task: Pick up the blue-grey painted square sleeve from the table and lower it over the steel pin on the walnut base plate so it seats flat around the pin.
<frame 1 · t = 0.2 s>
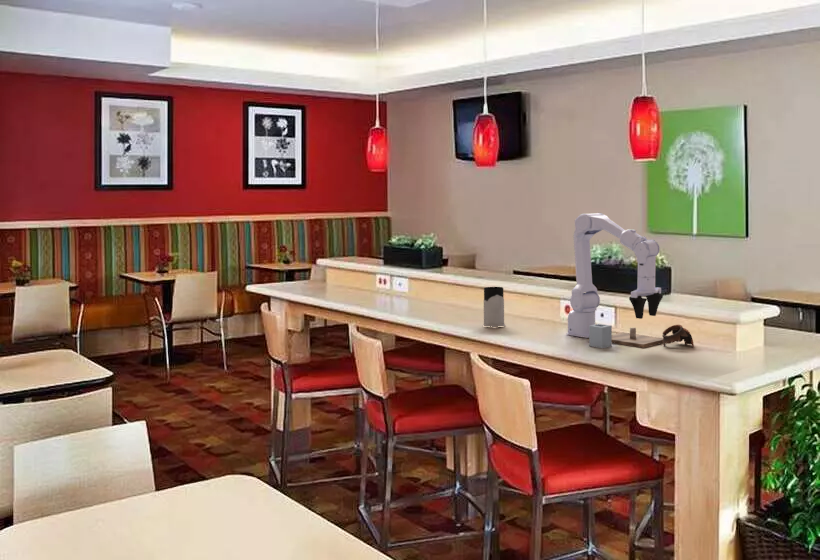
hand: (645, 317, 289), 10 cm above the table, fingers open, 7 cm apart
glass holder: (491, 325, 337), on the table
brown curved band: (678, 346, 289), on the table
sleeve: (600, 346, 291), on the table
pin plate: (632, 341, 298), on the table
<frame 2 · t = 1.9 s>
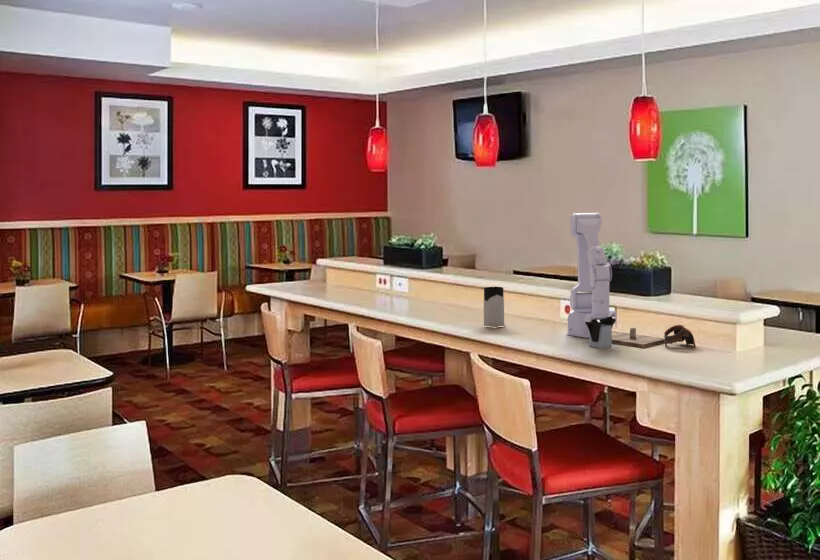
hand: (600, 340, 291), 2 cm above the table, fingers closed on sleeve, 5 cm apart
sleeve: (600, 346, 291), on the table, touching gripper
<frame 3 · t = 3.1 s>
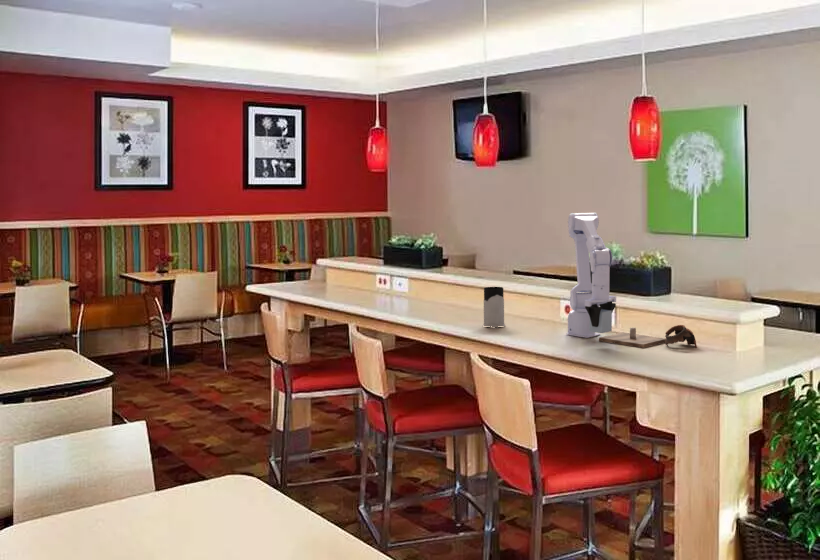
hand: (600, 325, 290), 7 cm above the table, fingers closed on sleeve, 5 cm apart
sleeve: (600, 331, 290), point 5 cm above the table, touching gripper
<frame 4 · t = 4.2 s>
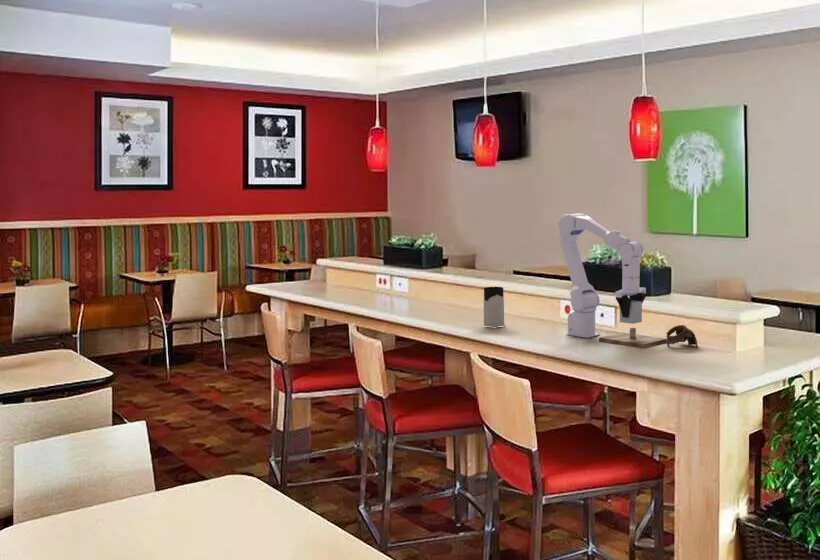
hand: (630, 316, 296), 9 cm above the table, fingers closed on sleeve, 5 cm apart
sleeve: (630, 321, 296), point 7 cm above the table, touching gripper
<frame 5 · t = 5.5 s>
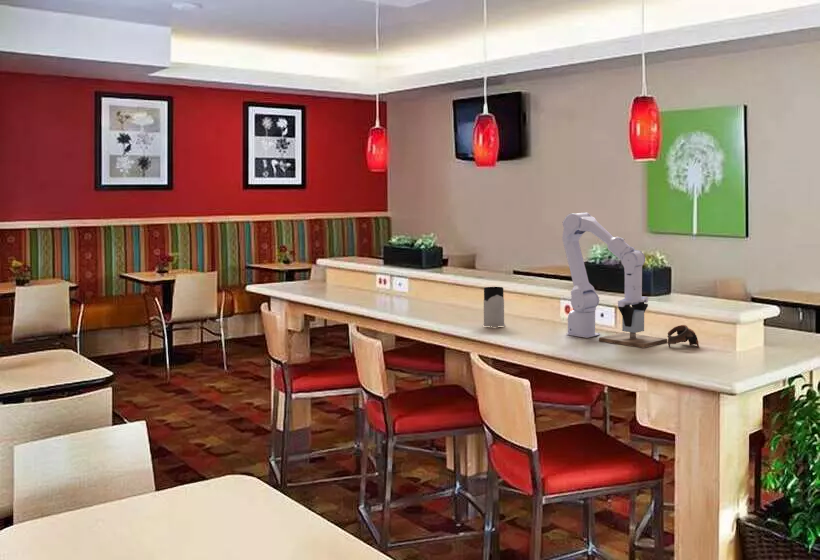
hand: (632, 325, 297), 6 cm above the table, fingers closed on sleeve, 5 cm apart
sleeve: (633, 331, 297), point 4 cm above the table, touching gripper
when the fingers open (4 cm above the table, at t = 6.4 s): sleeve stays where it is, resting on pin plate.
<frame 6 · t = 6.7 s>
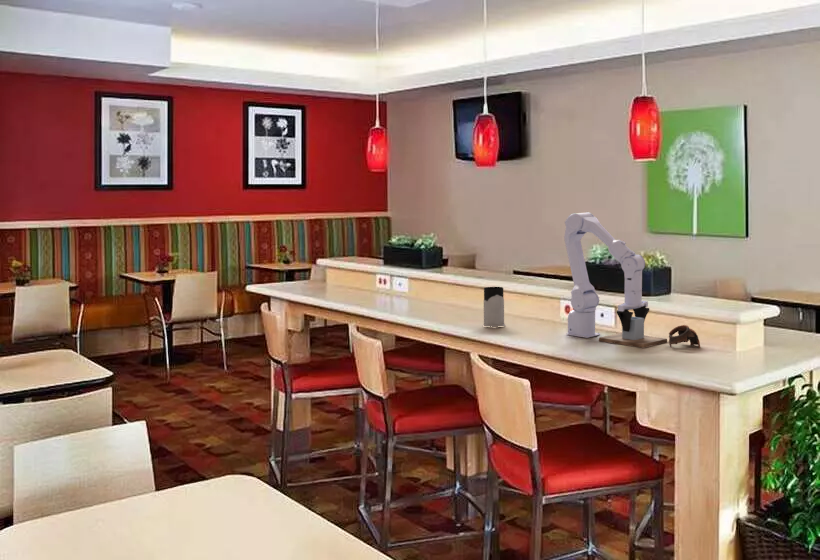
hand: (632, 329, 297), 4 cm above the table, fingers open, 7 cm apart
sleeve: (633, 338, 297), point 1 cm above the table, touching pin plate
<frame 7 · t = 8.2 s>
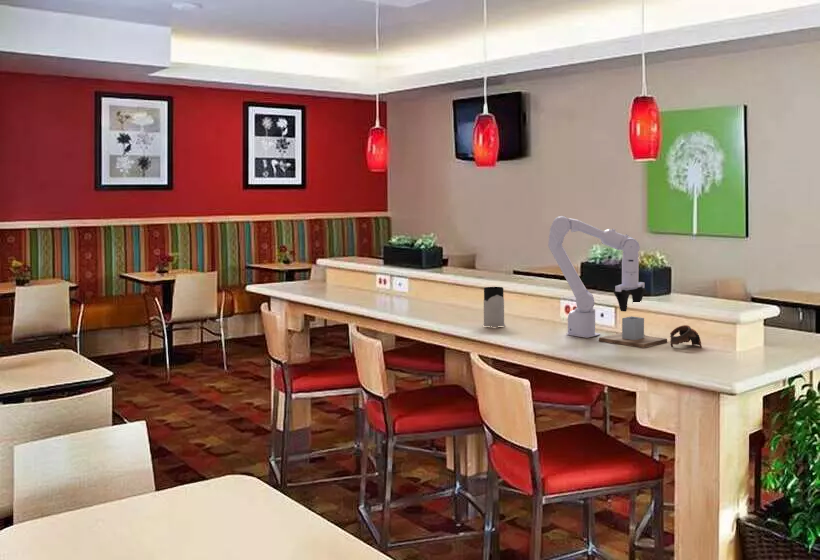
hand: (629, 309, 307), 9 cm above the table, fingers open, 7 cm apart
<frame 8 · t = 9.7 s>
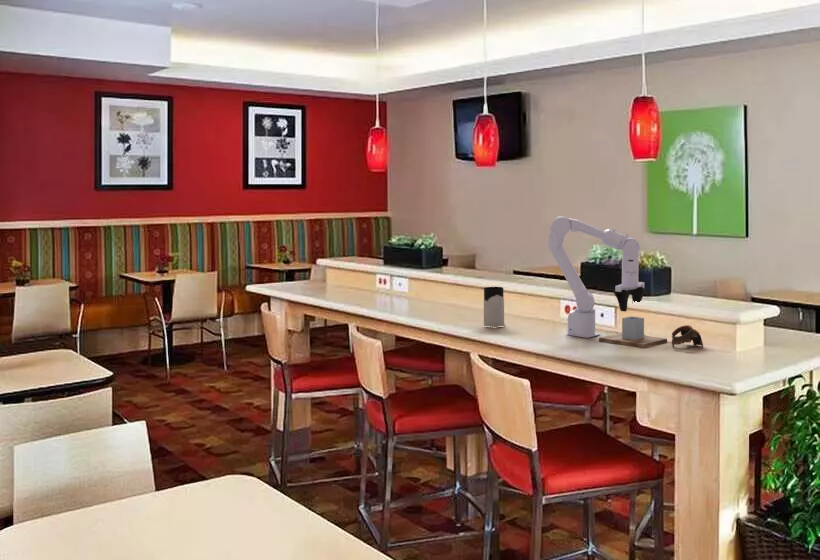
hand: (629, 309, 307), 9 cm above the table, fingers open, 7 cm apart
at the end: sleeve 0.1 cm off-centre on the pin plate, point 1.2 cm above the pin plate's base; sleeve tilted 0°; the gripper is holding nothing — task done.
